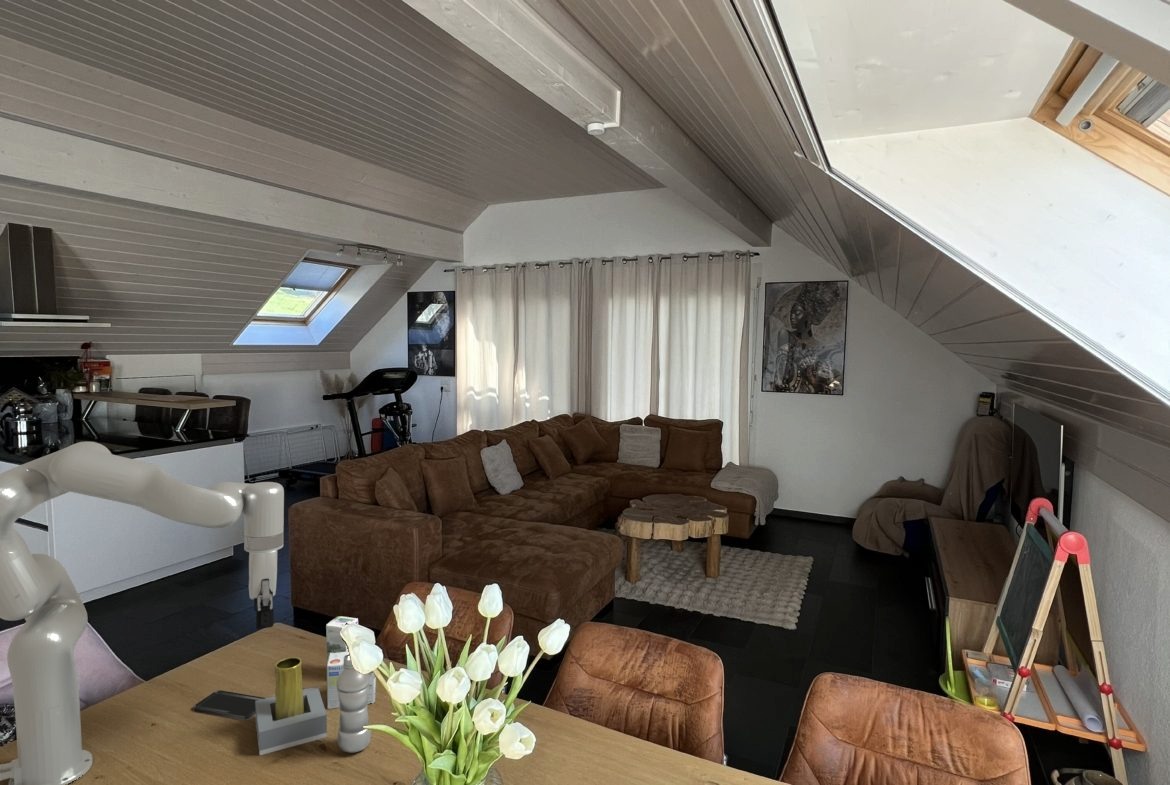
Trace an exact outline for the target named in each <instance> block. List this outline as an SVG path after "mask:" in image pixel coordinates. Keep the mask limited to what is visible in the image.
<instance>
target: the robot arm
mask: <svg viewBox="0 0 1170 785" xmlns="http://www.w3.org/2000/svg"><path fill="white" fill-rule="evenodd" d="M67 493H74V494H79V495H83V496H87V497H88V496H89V497H93V498H99V499H103V500H108V501H112V502H118V503H121V504H127V505H131V506H135V507H139V508H141V509H143V510H145V511H146V512H150V513H152V514H155V515H158V516H160V517H162V518H165V519H168V520H171V521H173V522H174V521H175V522H178V523H182V524H185V525H186V524H187V525H191V526H196V527H199V528H200V527H202V528H206V529H215V530H216V529H217V530H218V529H226V528H228V527H230V526H233V525H234V524H235V523H236V522H237V521H238V520H239V519H240V517H241V515H242V516H243V517H244V526H243V527H244V532H243V533H244V538H243V540H244V542H243V544H244V545H243V546H244V547H243V548H244V549H243V551H245V552H246V553H249V555H248V593H249V599H251V600H254V601H253V602H254V603H253V609H254V611H255V615H256V616H255V618H256V619H255V622H256V623H255V625H256V627H255V628H256V630H262V629H267V628H268V629H269V628H273V627H274V611H275V610H274V607H273V597H274V596H276V593H277V592H276V591H277V582H278V581H277V579H278V578H277V577H278V550H280V549H282V548H283V547H284V535H285V534H284V528H285V527H284V525H285V524H284V522H285V521H284V520H285V518H284V516H285V515H284V514H285V513H284V511H285V510H284V509H285V508H284V507H285V490H284V487H283V485H282V484H280V483H278V482H273V481H261V482H255V483H247V482H246V483H245V482H235V481H222V482H218V483H215V484H213V485H212V486H211V487H209V488H205V487H200V486H195V485H192V484H190V483H189V484H188V483H185V482H183V481H180V480H178V479H176V478H174V477H173V476H171V475H170V474H168V473H167V472H166V471H165V470H164V469H163V468H162V467H160V466H158V465H156V464H154V463H151V462H147V461H143V460H142V461H141V460H137V459H133V458H129V457H125V456H122V455H121V456H120V455H117V454H116V455H115V454H113V453H112V452H111V451H110V449H108V448H107V447H106V446H105V445H103V444H101V443H98V442H96V441H80V442H77V443H74V444H72V445H69V446H67V447H63V448H62V449H59V450H57V451H55V452H52V453H50V454H47V455H43V456H41V457H39V458H36V459H34V460H31V461H28V462H25V463H23V464H20V465H18V466H15V467H11V468H10V469H8V470H6V471H3V472H1V473H0V619H1V620H4V621H9V622H10V621H20V620H23V619H24V621H26V622H25V623H24V624H23V625H22V626H21V627H20V628H19V630H18V631H17V632H16V633H15V635H14V636H13V637H12V639H11V642H10V643H9V646H8V649H7V654H6V655H7V657H6V661H7V667H8V672H9V674H10V678H11V683H12V689H13V690H12V691H13V702H14V704H13V705H14V713H15V714H14V715H15V716H14V717H15V729H16V730H15V731H16V733H15V734H16V745H17V746H16V748H17V758H15V759H12V760H11V762H7V763H1V764H0V782H2V781H4V780H7V779H9V781H8V785H65V784H68V783H70V782H72V781H74V780H76V779H77V780H79V779H80V778H81V777H83V776H84V775H85V774H86V773H87V772H88V771H89V770H90V769H91V767H92V765H93V754H92V753H91V752H90V751H88V750H86V749H83V743H82V741H83V740H82V727H81V725H82V724H81V705H80V689H79V677H78V676H79V675H78V670H77V666H76V662H75V655H74V654H75V647H76V645H77V643H78V642H79V640H80V638H81V637H82V635H83V634H84V632H85V630H86V628H87V626H88V620H89V619H88V612H87V610H86V608H85V605H84V603H83V601H82V599H81V597H80V595H79V593H78V591H77V589H76V587H75V585H74V583H73V581H72V579H71V577H70V575H69V574H68V571H67V570H66V568H65V567H64V566H63V564H62V563H61V562H60V561H59V560H57V559H56V558H55V557H52V556H50V555H48V554H43V553H31V551H30V550H29V548H28V545H27V543H26V541H25V539H24V538H23V537H22V536H21V534H20V532H18V531H17V530H16V529H15V528H14V527H15V526H14V523H15V522H16V521H17V520H18V519H19V518H21V517H23V516H25V515H26V514H27V513H29V512H31V511H32V510H33V509H35V508H36V507H37V506H40V504H43V503H45V502H48V501H50V500H52V499H54V498H58V497H60V496H62V495H65V494H67ZM82 775H83V776H82ZM79 777H80V778H79ZM78 778H79V779H78ZM77 780H76V781H77ZM74 782H75V781H74Z"/></svg>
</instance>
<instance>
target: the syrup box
mask: <svg viewBox="0 0 1170 785" xmlns="http://www.w3.org/2000/svg"><path fill="white" fill-rule="evenodd" d="M348 621H351V622H354V623H356V624H358V625H359V618H358V617H357V618H356V617H349V616H341V615H339V616H336V617H334V618H333V619H332V620H330V621H329V622H328V623H326V626H325V629H326V634H325V635H326V637H325V638H326V664H327V663H328V659H329V655H330V653H338V652H347V651H348V649H347V646H346V644H345V642H344V641H343V640H342V638H341V635H340V630H341V628H342V627H343V626H344V625H345V624H346V623H347V622H348Z"/></svg>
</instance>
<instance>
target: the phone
mask: <svg viewBox="0 0 1170 785" xmlns="http://www.w3.org/2000/svg"><path fill="white" fill-rule="evenodd" d="M265 698H266V697H264V696H263V697H262V696H256V695H250V694H245V693H238V692H233V691H225V690H216V691H214V692H212V693H211V694H209V695H208V696H206V697H205V698H203V699H202V700H201V701H199V702H197V703H196V704H194V705H193V708H192V709H193V712H197V713H201V714H207V715H212V716H218V717H224V718H228V719H234V720H240V721H248V720H250V719H251V718H253V717H254V716H256V713H255V701H257V700H261V699H265Z"/></svg>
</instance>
